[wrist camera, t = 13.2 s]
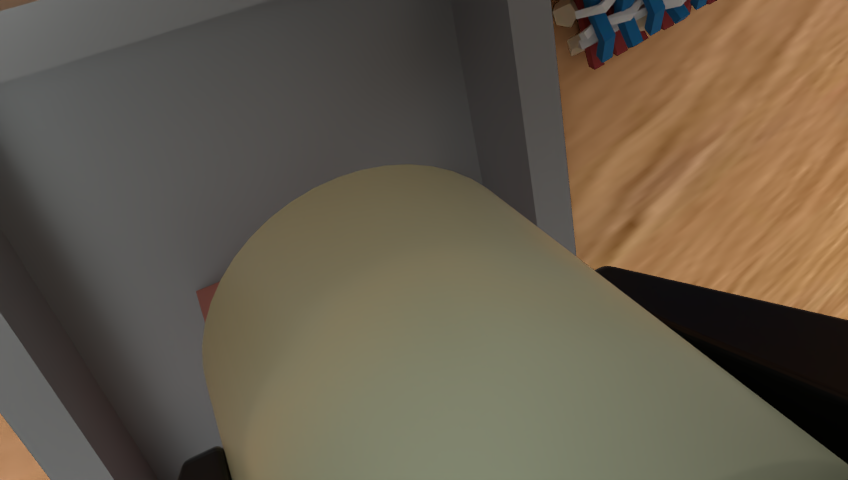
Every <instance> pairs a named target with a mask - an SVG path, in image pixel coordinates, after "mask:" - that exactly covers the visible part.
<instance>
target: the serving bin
mask: <svg viewBox="0 0 848 480" xmlns="http://www.w3.org/2000/svg"><path fill="white" fill-rule="evenodd" d="M405 164H412V165H424V166H433V167H437V168H442V169H446V170H450V171H453V172H456V173H458V174H461V175H463V176H466V177H468V178H471V179H473V180H474V181H476V182H477V183H479V184H481V185H482V186H484V187H486V188H487V189H489V190H490V191H491V192H493V193H494V194H495V195H497V196H498V197H499V198H500V199H502V200H503V201H504V202H506V203H507V204H508V205H510V206H511V207H512V208H514V209H515V210H516V211H517V212H519V213H520V214H521V215H523V216H524V217H525V218H527V219H528V220H529V221H531V222H532V223H533V224H534V225H536V226H537V227H538V228H540V229H541V230H542V231H544V232H545V233H546V234H547V235H549V236H550V237H551V238H553V239H554V240H555V241H557V242H558V243H559V244H561V245H562V246H563V247H564V248H566V249H567V250H568V251H570V252H571V253H572V254H574V255H575V256H576V248H575V238H574V228H573V218H572V208H571V198H570V188H569V178H568V168H567V158H566V147H565V137H564V127H563V117H562V107H561V97H560V87H559V77H558V67H557V57H556V47H555V37H554V26H553V16H552V6H551V0H0V413H1V415H2V416H3V417H4V419H5V420H6V421H7V423H8V424H9V425H10V426H11V428H12V429H13V430H14V432H15V433H16V434H17V436H18V437H19V438H20V440H21V441H22V442H23V444H24V445H25V446H26V448H27V449H28V450H29V452H30V453H31V454H32V456H33V457H34V458H35V460H36V461H37V462H38V464H39V465H40V466H41V468H42V469H43V470H44V472H45V473H46V474H47V476H48V477H49V478H50V479H51V480H177V477H178V474H179V471H180V468H181V466H182V464H183V463H184V462H185V461H186V460H187V459H189V458H191V457H193V456H195V455H198V454H200V453H202V452H204V451H206V450H208V449H210V448H213V447H215V446H220V447H222V448H223V445H222V441H221V438H220V434H219V430H218V426H217V423H216V419H215V415H214V411H213V407H212V404H211V400H210V396H209V392H208V388H207V384H206V379H205V374H204V370H203V355H202V343H203V335H204V327H205V321H204V317H203V314H202V311H201V307H200V304H199V300H198V297H197V294H196V291H198V290H201V289H203V288H205V287H208V286H210V285H213V284H215V283H218V282H220V280H221V278H222V277H223V275H224V273H225V272H226V270H227V268H228V267H229V265H230V263H231V262H232V260H233V259H234V257H235V256H236V255H237V253H238V252H239V251H240V250H241V248H242V247H243V246H244V245H245V243H246V242H247V241H248V239H249V238H250V237H251V236H252V235H253V234H254V233H255V232H256V231H257V230H258V229H259V228H260V227H261V226H262V225H263V224H264V223H265V222H266V221H267V220H268V219H269V218H271V217H272V216H273V215H274V214H276V213H277V212H278V211H280V210H281V209H282V208H284V207H285V206H286V205H287V204H289V203H290V202H291V201H293V200H295V199H296V198H298V197H300V196H301V195H303V194H305V193H306V192H308V191H310V190H311V189H313V188H315V187H317V186H320V185H322V184H324V183H326V182H328V181H331V180H333V179H335V178H337V177H341V176H344V175H347V174H350V173H353V172H356V171H360V170H364V169H369V168H375V167H380V166H386V165H405Z"/></svg>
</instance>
